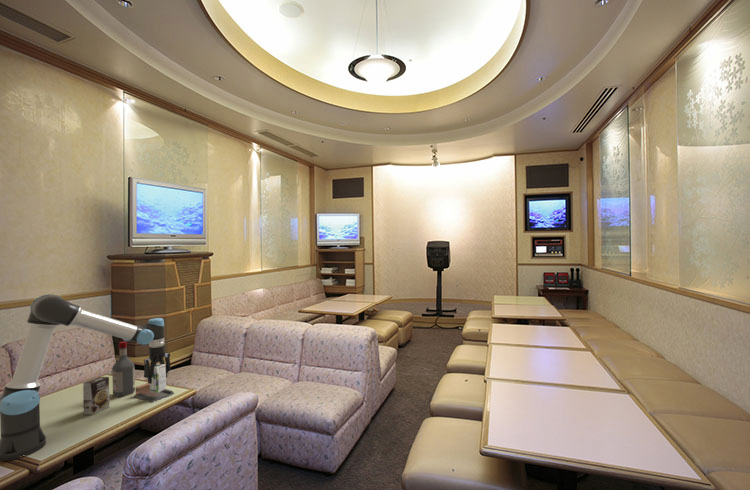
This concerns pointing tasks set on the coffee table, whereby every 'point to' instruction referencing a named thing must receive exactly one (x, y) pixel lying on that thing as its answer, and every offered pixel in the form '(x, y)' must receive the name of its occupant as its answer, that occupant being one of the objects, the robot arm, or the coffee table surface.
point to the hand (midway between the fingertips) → (158, 386)
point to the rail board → (151, 393)
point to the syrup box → (159, 378)
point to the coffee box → (96, 395)
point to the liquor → (123, 373)
